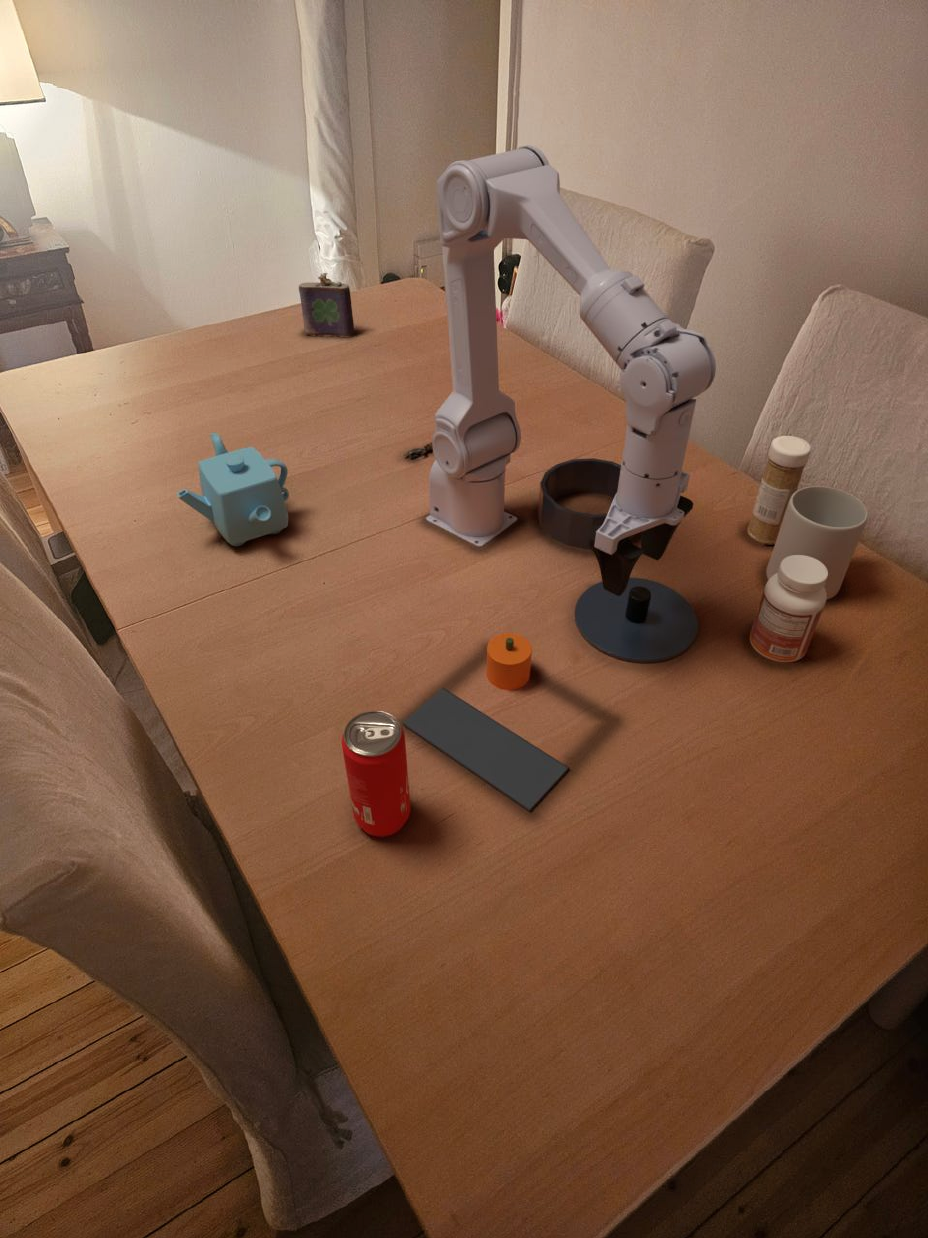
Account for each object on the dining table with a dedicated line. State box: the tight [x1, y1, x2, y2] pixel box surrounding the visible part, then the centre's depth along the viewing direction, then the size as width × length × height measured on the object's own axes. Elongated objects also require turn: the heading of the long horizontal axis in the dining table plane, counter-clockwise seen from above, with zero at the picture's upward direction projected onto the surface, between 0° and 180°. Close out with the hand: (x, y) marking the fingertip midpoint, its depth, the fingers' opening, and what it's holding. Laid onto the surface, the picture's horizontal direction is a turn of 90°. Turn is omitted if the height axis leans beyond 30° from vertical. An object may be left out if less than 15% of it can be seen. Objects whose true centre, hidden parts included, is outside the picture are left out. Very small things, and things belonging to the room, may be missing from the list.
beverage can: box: [341, 710, 411, 838], centre depth 71 cm, size 5×5×12 cm
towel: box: [402, 687, 570, 812], centre depth 83 cm, size 16×14×1 cm
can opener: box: [403, 441, 433, 459], centre depth 121 cm, size 9×2×1 cm, turn 123°
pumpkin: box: [486, 632, 533, 691], centre depth 86 cm, size 5×5×5 cm
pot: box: [537, 457, 637, 551], centre depth 106 cm, size 13×13×6 cm
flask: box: [298, 272, 355, 338], centre depth 147 cm, size 9×3×11 cm, turn 84°
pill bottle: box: [749, 555, 828, 663], centre depth 87 cm, size 6×6×11 cm
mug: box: [765, 485, 869, 601], centre depth 96 cm, size 12×8×11 cm
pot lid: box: [574, 576, 699, 664], centre depth 92 cm, size 14×14×5 cm
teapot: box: [175, 432, 290, 547], centre depth 104 cm, size 18×14×10 cm
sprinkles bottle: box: [746, 435, 812, 546], centre depth 101 cm, size 5×5×13 cm
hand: (632, 572), depth 88 cm, fingers open, 7 cm apart
